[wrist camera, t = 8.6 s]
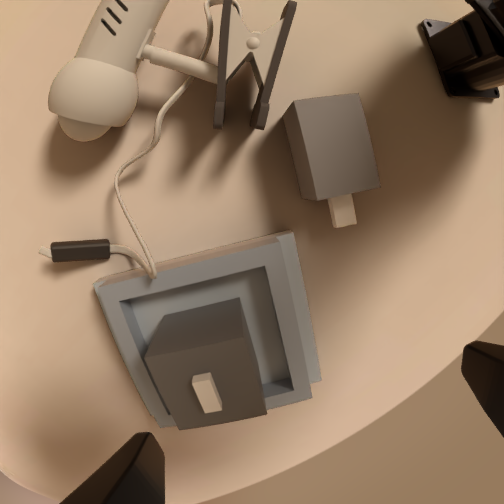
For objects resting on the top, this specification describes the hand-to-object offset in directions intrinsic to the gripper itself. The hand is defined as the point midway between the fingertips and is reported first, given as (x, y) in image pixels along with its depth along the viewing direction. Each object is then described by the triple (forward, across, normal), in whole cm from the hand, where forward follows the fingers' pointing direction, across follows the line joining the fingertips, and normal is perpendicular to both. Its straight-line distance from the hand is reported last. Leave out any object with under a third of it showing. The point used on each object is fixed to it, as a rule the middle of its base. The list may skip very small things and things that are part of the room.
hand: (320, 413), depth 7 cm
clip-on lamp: (+12, +5, -10) cm, 17 cm away
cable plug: (+12, -5, -7) cm, 15 cm away
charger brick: (+11, +4, +2) cm, 12 cm away
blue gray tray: (+12, +4, +2) cm, 13 cm away
